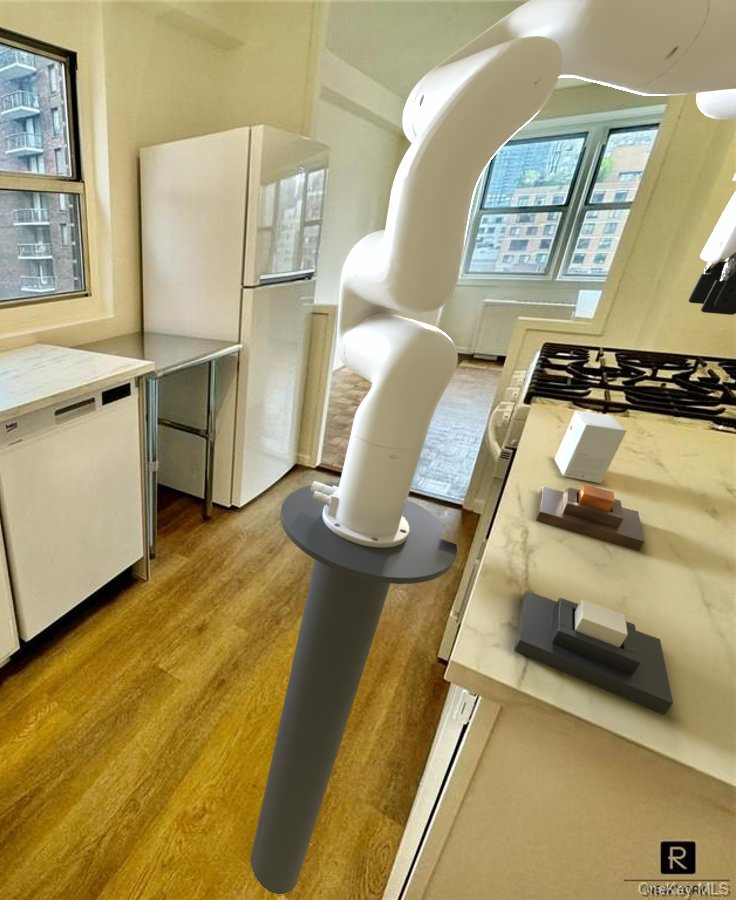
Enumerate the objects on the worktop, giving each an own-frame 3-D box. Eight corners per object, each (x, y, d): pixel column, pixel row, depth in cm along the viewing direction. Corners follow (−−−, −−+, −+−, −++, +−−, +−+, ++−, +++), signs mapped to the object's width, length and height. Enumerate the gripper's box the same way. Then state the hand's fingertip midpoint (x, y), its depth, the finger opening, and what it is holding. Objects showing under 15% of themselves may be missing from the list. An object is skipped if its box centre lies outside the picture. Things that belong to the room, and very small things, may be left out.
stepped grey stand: (514, 650, 53) (525, 627, 52) (520, 600, 60) (531, 578, 59) (664, 715, 47) (683, 690, 45) (652, 650, 54) (668, 627, 52)
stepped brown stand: (535, 520, 76) (544, 501, 75) (539, 494, 83) (546, 477, 82) (639, 551, 69) (651, 531, 68) (633, 520, 76) (643, 501, 75)
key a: (574, 631, 52) (582, 617, 51) (574, 612, 54) (581, 599, 54) (618, 649, 50) (627, 634, 49) (616, 628, 52) (625, 614, 52)
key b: (578, 504, 75) (583, 493, 74) (578, 495, 77) (583, 484, 76) (608, 513, 73) (615, 501, 72) (607, 503, 75) (613, 491, 74)
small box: (600, 484, 86) (628, 431, 82) (561, 476, 89) (585, 424, 84) (589, 466, 93) (614, 415, 88) (553, 459, 95) (575, 409, 90)
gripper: (723, 172, 68) (664, 297, 75) (757, 163, 56) (681, 314, 63) (807, 169, 64) (734, 303, 71) (862, 159, 52) (768, 321, 59)
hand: (709, 308), depth 67 cm, fingers open, 9 cm apart
